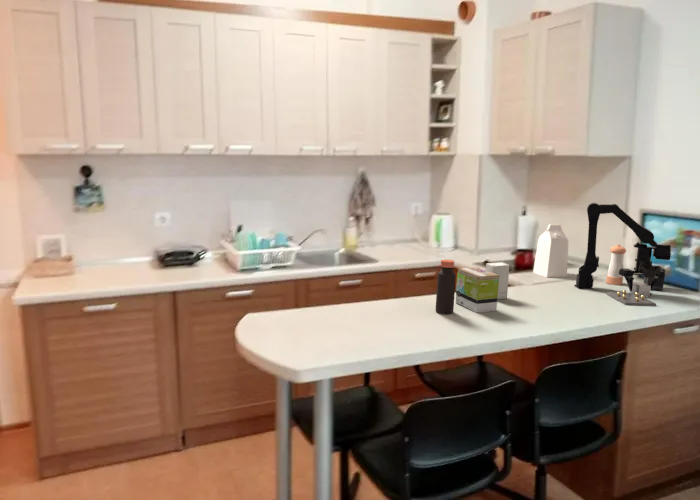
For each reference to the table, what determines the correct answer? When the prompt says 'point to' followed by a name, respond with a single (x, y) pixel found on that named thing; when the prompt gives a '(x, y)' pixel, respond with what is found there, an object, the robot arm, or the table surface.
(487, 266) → the skincare box
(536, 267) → the milk
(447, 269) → the bottle
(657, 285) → the small box
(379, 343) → the table surface
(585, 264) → the robot arm
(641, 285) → the block
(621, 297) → the pin tray
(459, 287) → the tea box
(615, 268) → the pepper shaker
